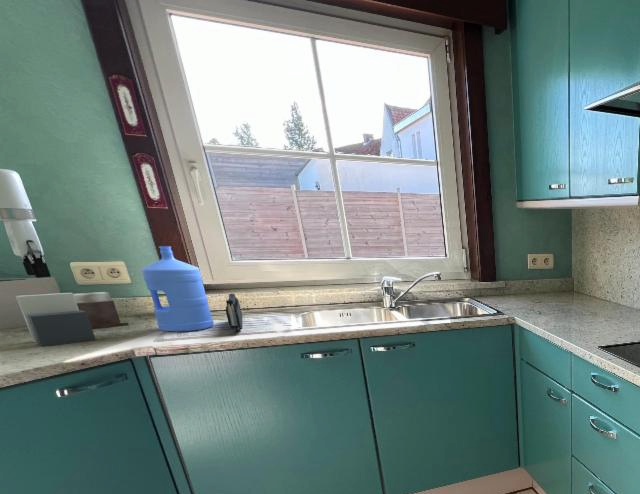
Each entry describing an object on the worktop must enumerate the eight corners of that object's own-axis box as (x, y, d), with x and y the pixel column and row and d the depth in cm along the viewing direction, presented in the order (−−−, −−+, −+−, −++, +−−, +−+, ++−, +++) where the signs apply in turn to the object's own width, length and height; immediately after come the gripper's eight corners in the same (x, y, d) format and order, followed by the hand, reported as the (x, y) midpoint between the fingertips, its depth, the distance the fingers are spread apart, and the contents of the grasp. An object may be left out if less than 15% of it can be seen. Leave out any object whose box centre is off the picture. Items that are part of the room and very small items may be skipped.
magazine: (227, 296, 191) (218, 280, 166) (237, 295, 193) (230, 280, 168) (237, 340, 194) (230, 331, 168) (247, 339, 195) (241, 330, 170)
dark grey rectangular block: (42, 346, 148) (30, 316, 144) (38, 344, 150) (26, 314, 146) (96, 340, 157) (86, 311, 154) (91, 338, 159) (81, 310, 156)
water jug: (215, 322, 188) (195, 245, 177) (213, 330, 176) (191, 247, 165) (162, 325, 180) (138, 245, 169) (156, 333, 167) (130, 247, 157)
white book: (35, 342, 152) (17, 296, 146) (33, 341, 153) (15, 296, 147) (88, 336, 161) (72, 293, 156) (86, 335, 162) (71, 292, 157)
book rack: (75, 330, 168) (63, 298, 164) (65, 326, 174) (54, 294, 170) (128, 325, 179) (118, 294, 175) (117, 321, 185) (107, 291, 181)
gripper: (-10, 215, 145) (14, 275, 151) (3, 215, 136) (28, 279, 142) (27, 215, 151) (49, 273, 157) (42, 216, 142) (64, 277, 148)
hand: (39, 276), depth 150 cm, fingers open, 9 cm apart
